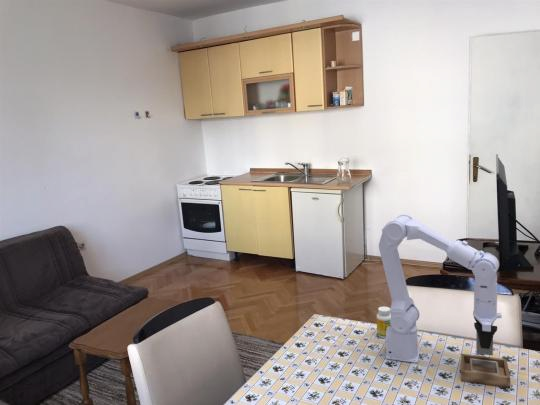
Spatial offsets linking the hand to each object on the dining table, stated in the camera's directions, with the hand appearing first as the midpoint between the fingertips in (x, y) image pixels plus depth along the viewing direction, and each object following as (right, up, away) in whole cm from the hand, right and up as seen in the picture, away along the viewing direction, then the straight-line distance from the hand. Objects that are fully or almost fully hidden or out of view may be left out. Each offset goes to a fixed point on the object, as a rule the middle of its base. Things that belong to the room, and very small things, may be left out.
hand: (484, 344), depth 125 cm
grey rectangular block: (0, -2, 0) cm, 2 cm away
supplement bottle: (-21, -6, +29) cm, 36 cm away
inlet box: (+1, -9, +2) cm, 9 cm away
